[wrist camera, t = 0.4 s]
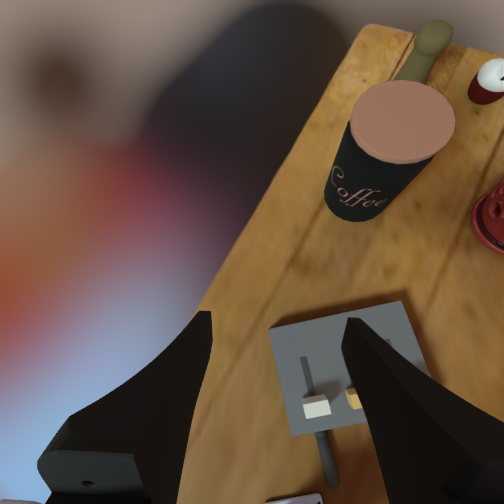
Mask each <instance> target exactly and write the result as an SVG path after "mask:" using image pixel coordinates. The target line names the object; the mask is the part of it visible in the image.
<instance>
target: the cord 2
mask: <svg viewBox="0 0 504 504" xmlns="http://www.w3.org/2000/svg"><path fill="white" fill-rule="evenodd" d="M315 435H316V439H317V443H318V447H319V451H320V455H321V459H322V464H323V468H324V472H325V476H326V480H327V483H328V485H329V486H330V487H331V488H336V487H338V485H339V479H338V475H337V471H336V467H335V463H334V459H333V456H332V452H331V448H330V444H329V440H328V436H327V432H326V430H324V431H319V432H315Z"/></svg>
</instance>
